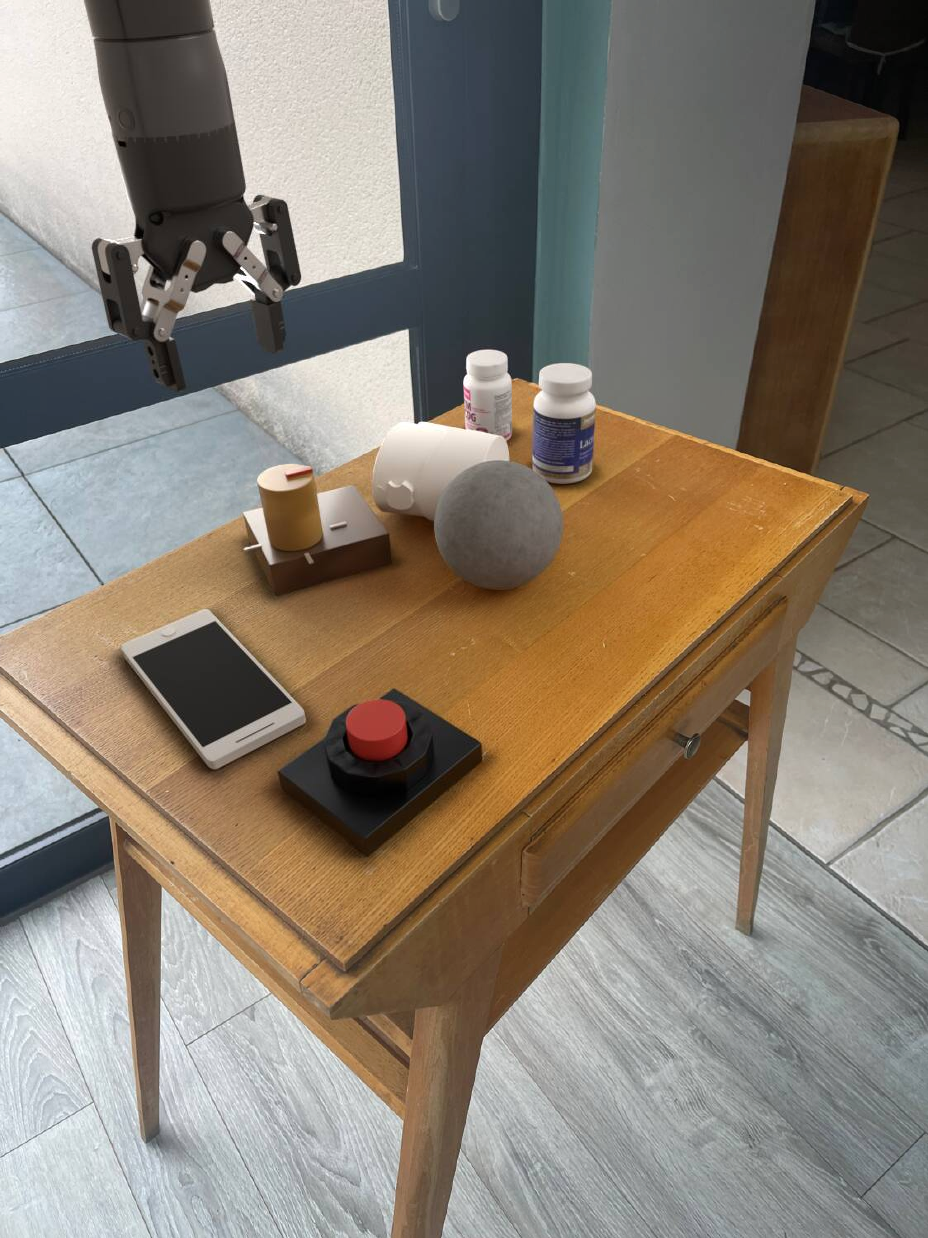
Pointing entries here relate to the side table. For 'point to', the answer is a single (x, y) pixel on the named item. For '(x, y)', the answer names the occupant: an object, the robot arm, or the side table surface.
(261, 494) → the knob
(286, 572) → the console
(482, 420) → the pill bottle
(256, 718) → the smartphone
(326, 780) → the button box
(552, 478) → the pill bottle
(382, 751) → the button
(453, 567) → the decorative ball
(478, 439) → the mug
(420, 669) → the side table surface
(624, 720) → the side table surface
